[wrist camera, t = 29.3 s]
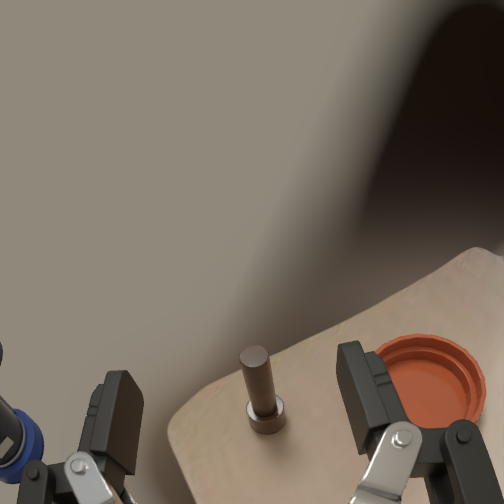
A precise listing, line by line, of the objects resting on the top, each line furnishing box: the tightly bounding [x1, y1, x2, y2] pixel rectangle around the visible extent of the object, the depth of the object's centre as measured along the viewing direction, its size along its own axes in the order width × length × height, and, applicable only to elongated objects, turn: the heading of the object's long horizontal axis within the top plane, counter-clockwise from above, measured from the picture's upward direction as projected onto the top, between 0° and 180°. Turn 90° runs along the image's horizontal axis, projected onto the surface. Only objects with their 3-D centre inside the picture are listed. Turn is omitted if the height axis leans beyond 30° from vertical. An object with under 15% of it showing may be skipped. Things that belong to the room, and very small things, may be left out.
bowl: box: [375, 334, 486, 428], centre depth 30 cm, size 15×15×4 cm
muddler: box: [239, 345, 285, 434], centre depth 30 cm, size 4×4×12 cm
